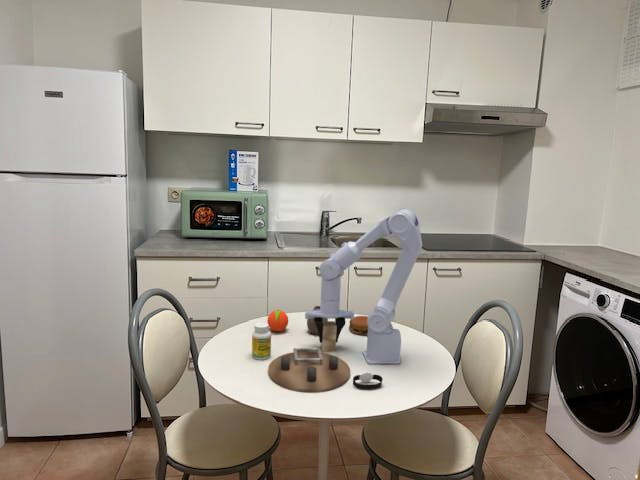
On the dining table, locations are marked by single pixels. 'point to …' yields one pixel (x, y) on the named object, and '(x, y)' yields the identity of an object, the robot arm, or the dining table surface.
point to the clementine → (277, 320)
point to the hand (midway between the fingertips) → (328, 341)
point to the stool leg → (328, 336)
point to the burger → (359, 325)
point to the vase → (313, 323)
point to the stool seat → (309, 371)
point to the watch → (366, 378)
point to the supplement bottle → (261, 341)
